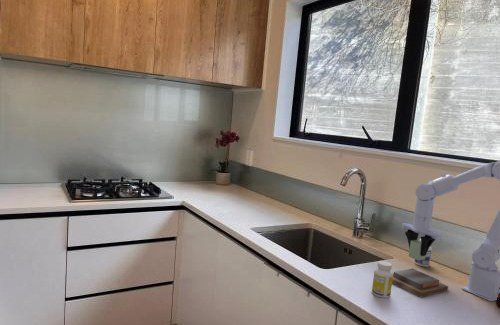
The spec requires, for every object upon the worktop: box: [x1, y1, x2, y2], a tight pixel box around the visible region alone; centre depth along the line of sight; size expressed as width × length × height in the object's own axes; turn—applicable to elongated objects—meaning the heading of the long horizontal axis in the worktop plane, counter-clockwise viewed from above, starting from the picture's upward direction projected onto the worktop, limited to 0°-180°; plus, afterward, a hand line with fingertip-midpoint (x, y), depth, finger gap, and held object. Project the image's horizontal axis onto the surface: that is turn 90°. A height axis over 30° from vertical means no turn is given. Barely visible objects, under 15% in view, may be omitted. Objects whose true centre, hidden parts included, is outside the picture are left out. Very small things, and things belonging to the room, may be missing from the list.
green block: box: [408, 239, 426, 260], centre depth 138 cm, size 4×4×6 cm
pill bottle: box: [414, 237, 433, 267], centre depth 147 cm, size 5×5×10 cm
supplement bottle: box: [371, 260, 394, 299], centre depth 115 cm, size 5×5×10 cm
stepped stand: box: [392, 267, 449, 298], centre depth 126 cm, size 14×14×3 cm
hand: (417, 253), depth 138 cm, fingers closed on green block, 4 cm apart
